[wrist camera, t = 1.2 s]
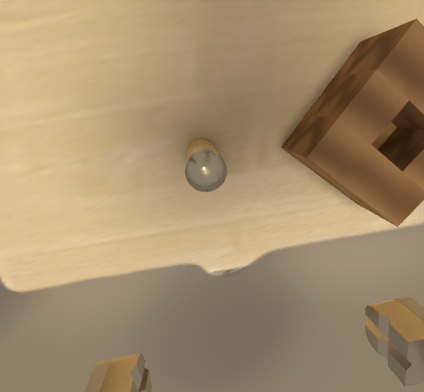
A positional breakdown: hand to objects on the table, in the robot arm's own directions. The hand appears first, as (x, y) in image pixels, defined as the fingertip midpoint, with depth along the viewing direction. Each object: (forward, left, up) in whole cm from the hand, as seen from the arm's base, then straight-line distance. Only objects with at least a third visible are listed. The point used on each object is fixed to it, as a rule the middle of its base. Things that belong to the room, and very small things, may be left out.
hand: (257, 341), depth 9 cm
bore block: (-16, +15, -28) cm, 35 cm away
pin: (-1, -2, -28) cm, 28 cm away
